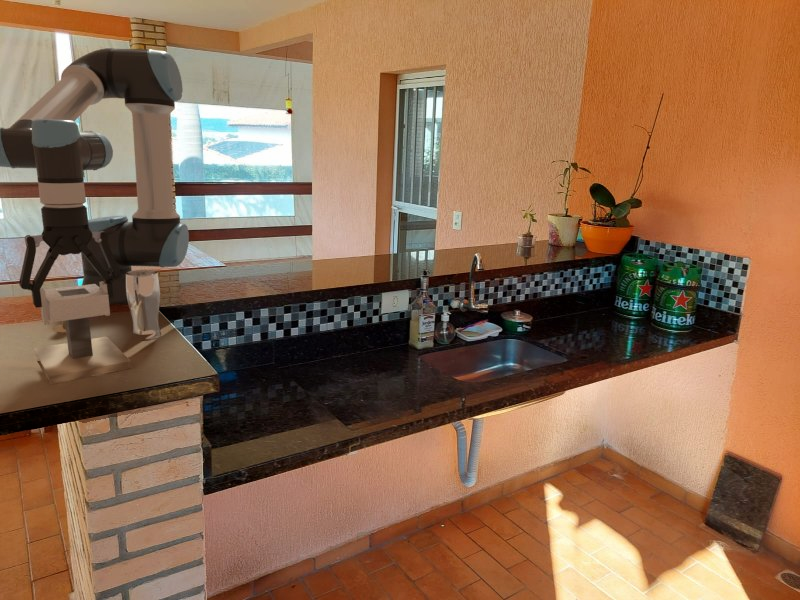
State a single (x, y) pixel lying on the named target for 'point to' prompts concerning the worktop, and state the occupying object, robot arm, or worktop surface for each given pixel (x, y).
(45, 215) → the robot arm
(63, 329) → the stand
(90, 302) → the white square frame
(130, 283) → the beer glass
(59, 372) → the hub base
